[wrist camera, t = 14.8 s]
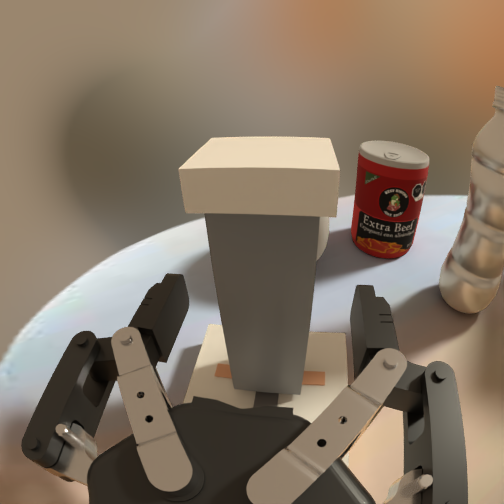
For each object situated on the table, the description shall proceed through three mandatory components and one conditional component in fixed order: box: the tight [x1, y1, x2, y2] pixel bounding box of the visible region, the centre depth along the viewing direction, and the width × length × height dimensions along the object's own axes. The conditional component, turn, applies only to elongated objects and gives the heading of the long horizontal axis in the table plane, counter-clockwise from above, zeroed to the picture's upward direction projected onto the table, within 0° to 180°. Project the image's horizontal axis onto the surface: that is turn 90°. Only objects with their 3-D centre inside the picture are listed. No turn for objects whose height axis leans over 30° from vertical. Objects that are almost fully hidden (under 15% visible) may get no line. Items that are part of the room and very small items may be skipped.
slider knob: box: [179, 137, 340, 395], centre depth 15 cm, size 5×4×14 cm
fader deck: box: [183, 324, 349, 467], centre depth 14 cm, size 10×22×2 cm, turn 171°
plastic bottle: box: [439, 86, 504, 314], centre depth 19 cm, size 6×7×20 cm
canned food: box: [351, 141, 429, 258], centre depth 31 cm, size 8×8×11 cm
